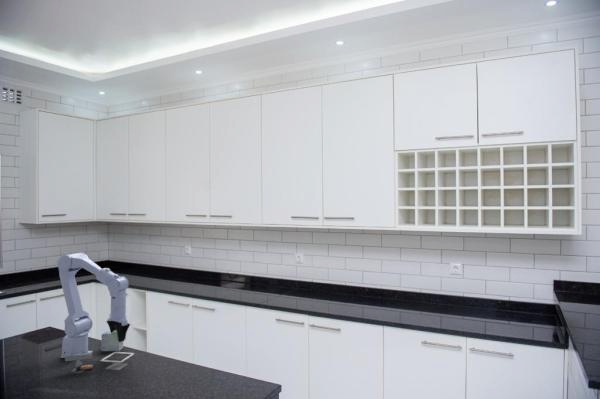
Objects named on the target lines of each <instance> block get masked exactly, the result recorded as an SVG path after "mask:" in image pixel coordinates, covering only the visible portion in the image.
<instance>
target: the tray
mask: <svg viewBox="0 0 600 399" xmlns="http://www.w3.org/2000/svg"><path fill="white" fill-rule="evenodd" d="M115 354H121V355H128V356H126V357H125V358H123V359H122V360H109V359H108V358H111V356H113V355H115ZM134 355H136V354H135V352H124V351H123V352H122V351H112V353H109V355H107V356H105V357H104V358H102V359H100V360H99V362H104V363H124V362H125V361H126V360H128V359H129V358H131V357H132V356H134Z"/></svg>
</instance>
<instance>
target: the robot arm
mask: <svg viewBox="0 0 600 399" xmlns="http://www.w3.org/2000/svg"><path fill="white" fill-rule="evenodd" d="M56 263H57V268H58V273H59V274H58V275H59V279H60V283H61V288H62V292H63V296H64V300H65V305H66V308H67V314H68V315H67V316H66V318H65V319H64V320H63V321H64V334H66V335H65V336H64V337H63V339H62V342H61V343H62V344H61V349H62V350H61V355H60V358H61V359H65V356H66V355H72V354H81V353H90V352H92V353H93V350H89V333H90V330H91V329H92V328H93V320H92V318H91V317H90V314H89V312H87V311H85V310H84V309H83V305H82V301H81V297H80V292H79V289H78V285H77V280H76V277H75V276H76V274H77V272H79V270H81V269H84V270H86V271H87V272H90V274H93V275H95V277H96V280H97V281H99V283H102V284H103V285H105V286H106V287H107V290H108V292H109V296H110V313H109V317H108V318H107V320H106V323H107V325H108V328H109V331H111V333H112V332H113V331H114V330H117V335H118V341H119V342H121V341H124V342H125V340H126V339H125V336H126V337H127V332H128V330H129V328H130V326H131V323H129V322H128V319H127V315H126V312H127V310H126V309H127V306H126V303H127V301H126V300H127V299H126V298H127V289H128V288H129V286H130V282H129V279H128V278H127V277H126V276H120V275H119V274H116V273H114V271H112V270H111V269H110V268H109V267H104V268H101V266H99V265H98V264H97V263H96V262H94V261H93V260H91V259H90V258H89V256H88V255H87V254H85V253H84V252H83V251H80V252H77V253H70V254H63V255H61V256H60V257H59V258H58V260H57V261H56Z"/></svg>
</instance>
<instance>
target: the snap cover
mask: <svg viewBox="0 0 600 399" xmlns="http://www.w3.org/2000/svg"><path fill="white" fill-rule="evenodd" d="M125 340H127V335H126V336H125ZM125 340H124V341H121V342H119V341H118V335H117V330H114V331H113V332H112V333H111V334H110V343H123V344H124V342H125Z"/></svg>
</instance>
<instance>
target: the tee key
mask: <svg viewBox="0 0 600 399" xmlns="http://www.w3.org/2000/svg"><path fill="white" fill-rule="evenodd" d="M92 358H93V351H92V352H90V353H81V354H72V355H66V356H65V358H64V361H65V362H72V361H75V369H76V371H78V370H81V369H86V370H87V369H88V370H89V369H92V368H93V364H88V365H87V364H85V365H83V360H90V359H92Z"/></svg>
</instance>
